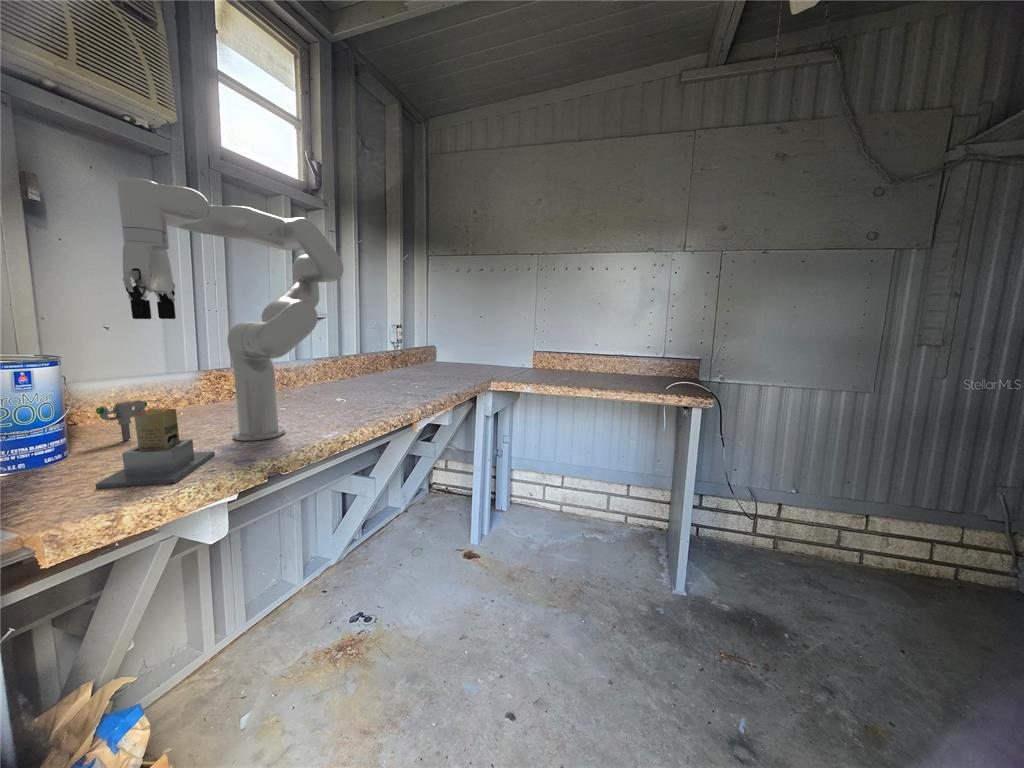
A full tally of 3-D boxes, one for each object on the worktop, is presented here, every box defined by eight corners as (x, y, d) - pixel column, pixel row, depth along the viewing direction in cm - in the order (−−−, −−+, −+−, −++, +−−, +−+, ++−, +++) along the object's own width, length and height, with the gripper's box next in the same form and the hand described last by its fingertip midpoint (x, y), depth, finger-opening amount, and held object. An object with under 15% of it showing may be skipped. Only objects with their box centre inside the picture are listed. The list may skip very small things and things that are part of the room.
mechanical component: (99, 444, 107) (94, 406, 105) (145, 434, 116) (141, 399, 115) (106, 446, 106) (101, 407, 104) (152, 435, 115) (148, 400, 114)
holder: (151, 458, 97) (148, 435, 97) (214, 455, 100) (212, 433, 100) (96, 489, 80) (92, 461, 79) (174, 483, 83) (171, 457, 82)
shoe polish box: (181, 461, 93) (175, 408, 91) (168, 469, 88) (162, 413, 86) (156, 462, 92) (149, 409, 90) (141, 470, 87) (134, 414, 85)
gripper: (149, 245, 99) (157, 318, 102) (97, 231, 82) (109, 318, 85) (186, 247, 101) (193, 319, 103) (142, 233, 84) (152, 319, 87)
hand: (155, 318), depth 94 cm, fingers open, 9 cm apart
